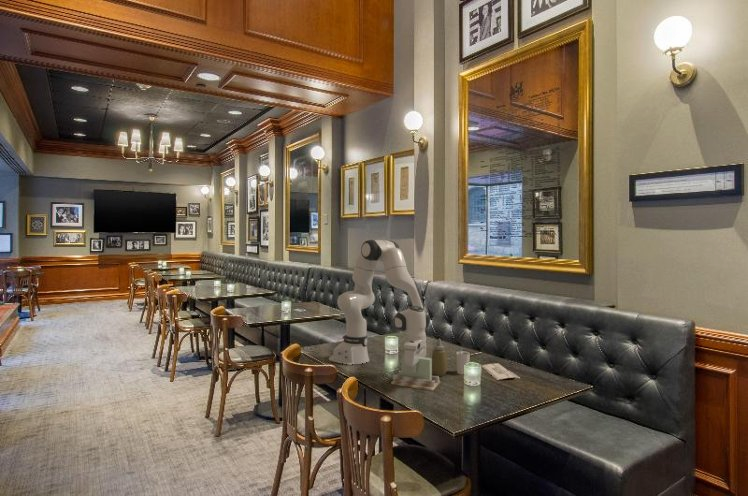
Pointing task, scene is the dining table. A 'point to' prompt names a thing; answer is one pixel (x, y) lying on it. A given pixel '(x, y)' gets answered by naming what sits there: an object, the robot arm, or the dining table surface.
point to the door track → (416, 382)
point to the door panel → (418, 368)
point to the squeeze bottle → (439, 360)
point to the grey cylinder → (462, 361)
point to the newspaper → (499, 371)
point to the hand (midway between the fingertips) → (416, 370)
